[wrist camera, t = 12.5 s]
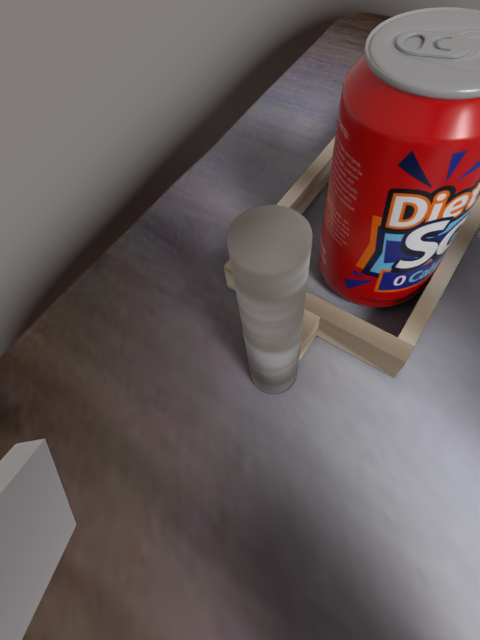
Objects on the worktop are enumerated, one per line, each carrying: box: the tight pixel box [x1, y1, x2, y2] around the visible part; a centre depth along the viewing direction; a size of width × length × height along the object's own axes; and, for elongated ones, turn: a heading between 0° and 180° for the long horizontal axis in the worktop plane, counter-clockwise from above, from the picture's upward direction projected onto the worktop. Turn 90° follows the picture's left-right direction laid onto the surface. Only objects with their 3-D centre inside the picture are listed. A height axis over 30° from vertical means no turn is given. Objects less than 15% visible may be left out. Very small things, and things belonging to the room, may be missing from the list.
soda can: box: [318, 7, 480, 307], centre depth 22 cm, size 8×8×15 cm
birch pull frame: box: [223, 137, 480, 394], centre depth 23 cm, size 28×13×13 cm, turn 145°
